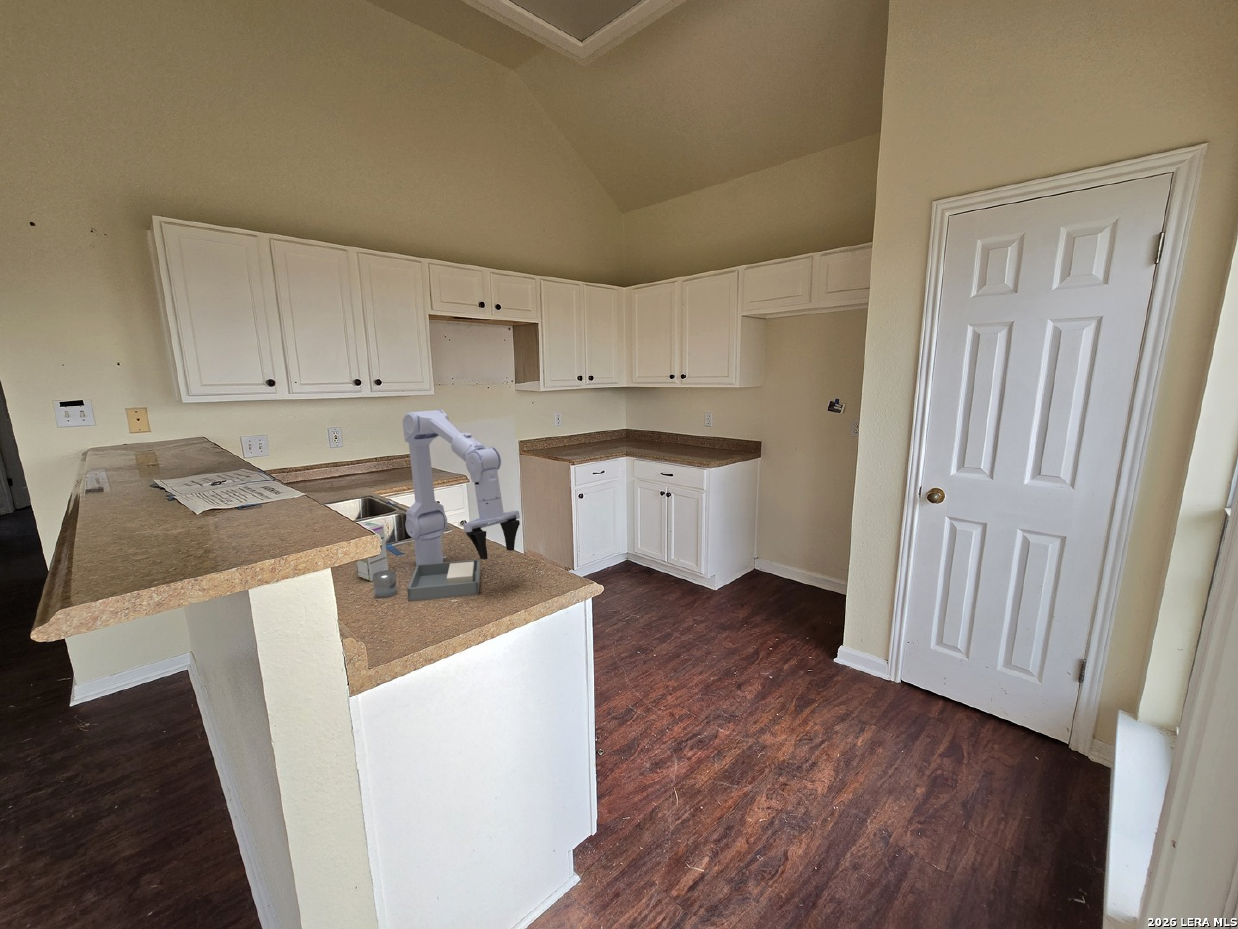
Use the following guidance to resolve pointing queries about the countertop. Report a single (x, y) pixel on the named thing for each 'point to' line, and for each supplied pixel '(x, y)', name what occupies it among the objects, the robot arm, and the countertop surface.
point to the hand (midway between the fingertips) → (497, 554)
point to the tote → (440, 582)
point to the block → (460, 573)
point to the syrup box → (376, 563)
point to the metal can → (384, 584)
